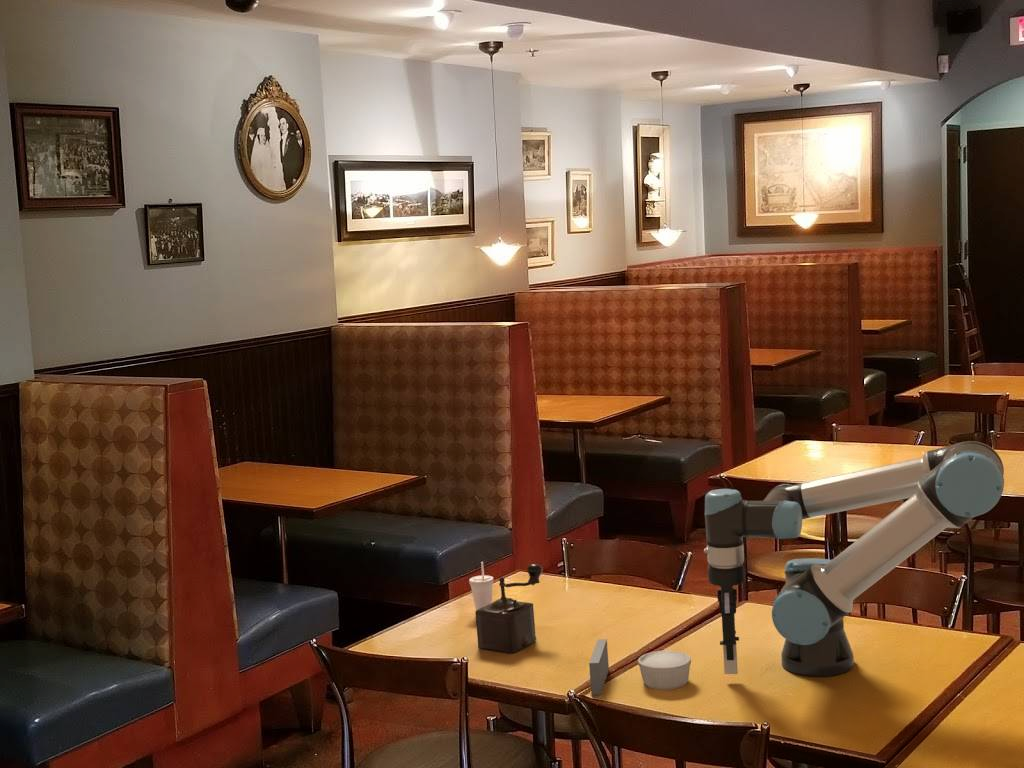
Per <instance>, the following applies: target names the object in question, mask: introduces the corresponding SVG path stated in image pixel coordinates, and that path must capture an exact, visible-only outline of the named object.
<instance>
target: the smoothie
mask: <svg viewBox="0 0 1024 768" xmlns="http://www.w3.org/2000/svg"><path fill="white" fill-rule="evenodd" d="M480 565H481V567H480V569H481V575H476V576H472V577H471V578H469V582H468V583H469V585H470V588H471V592H472V598H473V602H474V607H475V611H476V610H478V609H480V608H482V607H485V606H487V605H489V604H491V603H493V585H494V584H493V583H494V582H495V580H494V576H491V575H488V574H487V575H486V574H485V569H484V561H481V562H480Z"/></svg>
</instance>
